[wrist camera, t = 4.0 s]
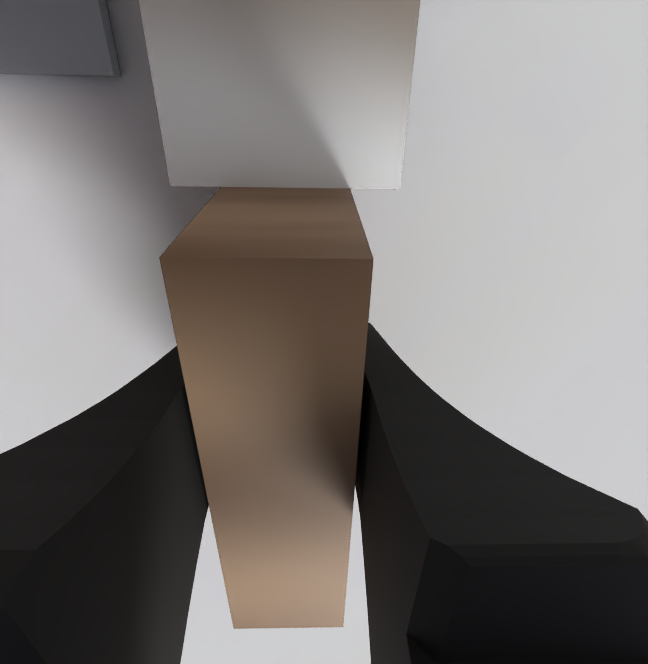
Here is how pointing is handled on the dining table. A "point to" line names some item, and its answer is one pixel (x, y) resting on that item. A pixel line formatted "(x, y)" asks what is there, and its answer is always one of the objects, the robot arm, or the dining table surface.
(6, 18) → the mat
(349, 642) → the dining table surface
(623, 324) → the dining table surface
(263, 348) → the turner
